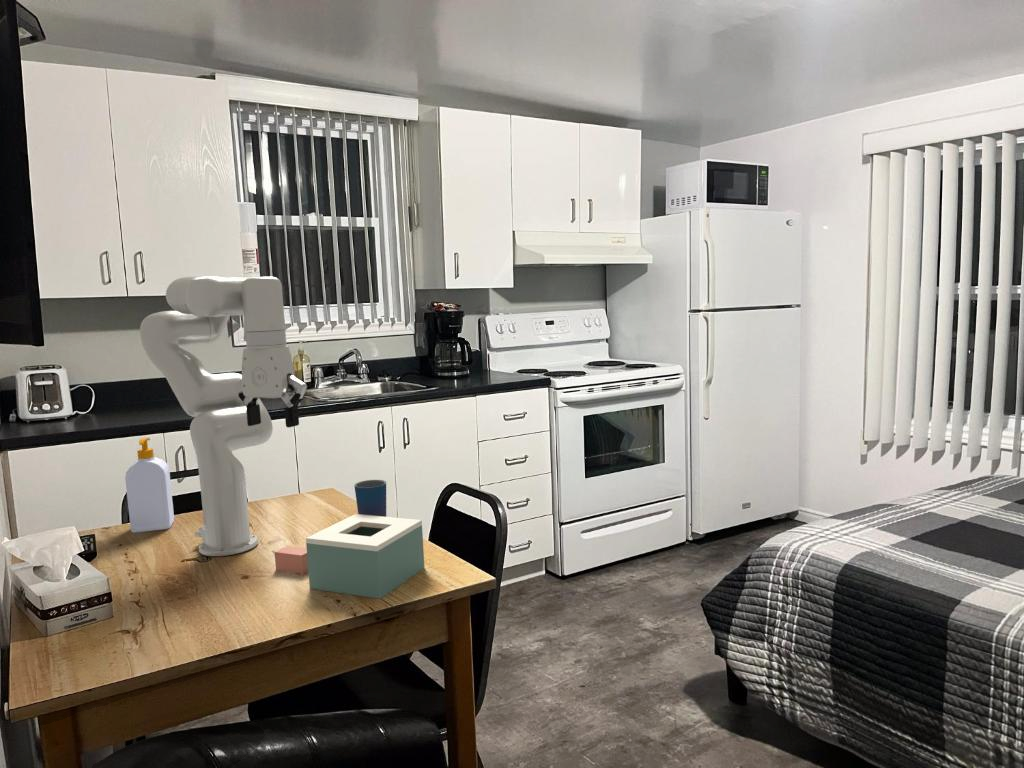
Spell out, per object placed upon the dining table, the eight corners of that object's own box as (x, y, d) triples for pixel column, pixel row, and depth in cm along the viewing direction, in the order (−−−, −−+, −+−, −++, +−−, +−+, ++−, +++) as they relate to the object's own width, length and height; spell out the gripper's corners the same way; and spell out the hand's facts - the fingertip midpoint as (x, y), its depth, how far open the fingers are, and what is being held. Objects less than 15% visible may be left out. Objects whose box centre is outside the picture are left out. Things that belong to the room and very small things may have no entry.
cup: (383, 556, 157) (379, 487, 155) (353, 555, 158) (349, 487, 156) (395, 545, 163) (390, 479, 162) (366, 544, 165) (361, 479, 163)
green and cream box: (309, 588, 141) (305, 538, 140) (358, 559, 155) (355, 513, 154) (380, 598, 134) (376, 546, 133) (424, 567, 149) (421, 520, 148)
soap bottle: (130, 534, 180) (120, 442, 178) (136, 526, 187) (126, 437, 184) (170, 529, 183) (160, 439, 180) (174, 521, 190) (165, 434, 187)
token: (276, 570, 152) (274, 551, 151) (289, 563, 155) (287, 545, 155) (303, 574, 149) (301, 555, 148) (315, 567, 153) (314, 548, 152)
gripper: (218, 342, 145) (226, 427, 147) (288, 340, 138) (295, 430, 140) (246, 339, 152) (253, 421, 154) (313, 338, 145) (320, 423, 147)
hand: (273, 425), depth 147 cm, fingers open, 9 cm apart
